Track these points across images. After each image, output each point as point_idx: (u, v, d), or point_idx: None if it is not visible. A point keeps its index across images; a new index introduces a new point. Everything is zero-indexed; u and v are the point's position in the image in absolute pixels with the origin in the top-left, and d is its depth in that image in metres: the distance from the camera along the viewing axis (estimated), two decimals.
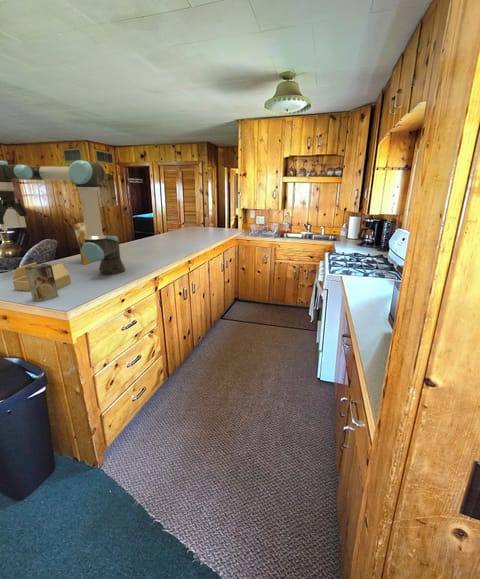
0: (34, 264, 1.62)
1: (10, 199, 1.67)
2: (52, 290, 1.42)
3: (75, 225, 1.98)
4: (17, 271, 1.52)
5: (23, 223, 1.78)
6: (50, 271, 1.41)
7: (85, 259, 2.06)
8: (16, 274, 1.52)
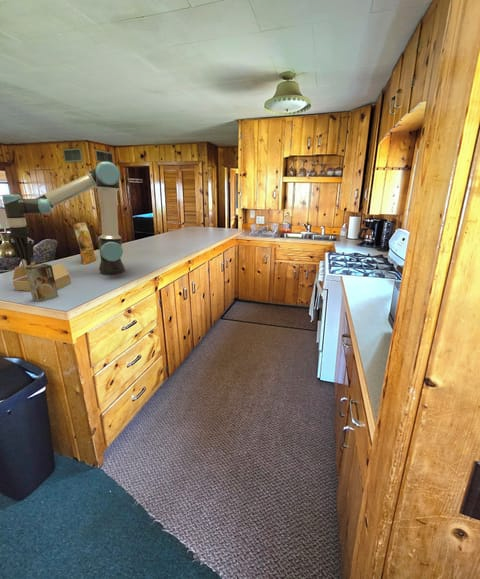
0: (33, 263, 1.62)
1: (19, 236, 1.50)
2: (52, 290, 1.42)
3: (75, 225, 1.98)
4: (16, 270, 1.52)
5: None
6: (51, 271, 1.41)
7: (85, 259, 2.06)
8: (15, 274, 1.52)
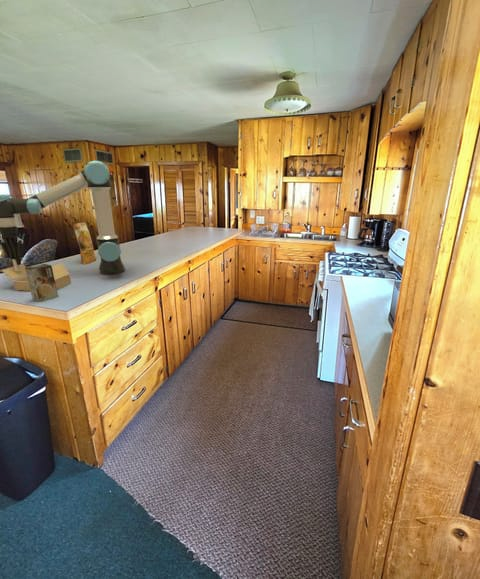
0: (21, 265, 1.63)
1: (9, 236, 1.51)
2: (52, 290, 1.42)
3: (75, 225, 1.98)
4: (6, 272, 1.52)
5: None
6: (51, 271, 1.41)
7: (85, 259, 2.06)
8: (9, 274, 1.53)
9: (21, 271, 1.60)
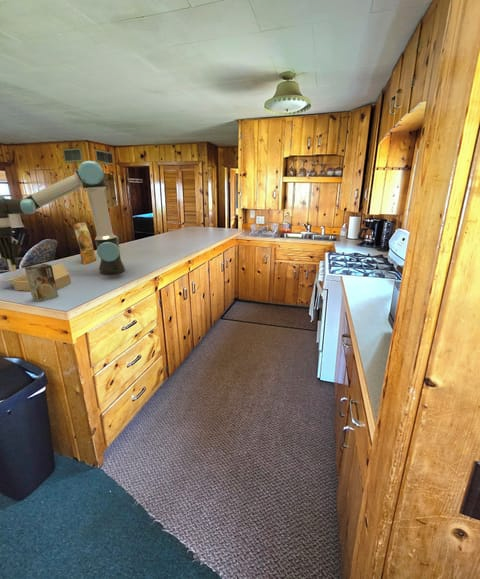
0: (21, 274, 1.65)
1: (3, 236, 1.51)
2: (52, 290, 1.42)
3: (75, 225, 1.98)
4: (5, 280, 1.54)
5: None
6: (51, 271, 1.41)
7: (85, 259, 2.06)
8: (8, 279, 1.54)
9: (20, 275, 1.61)
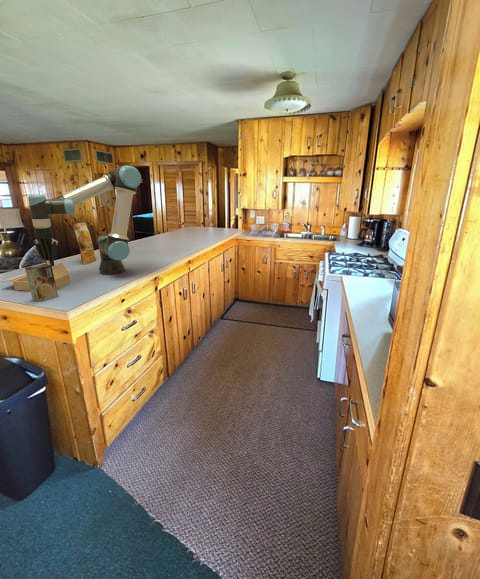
0: (21, 274, 1.65)
1: (44, 237, 1.49)
2: (52, 290, 1.42)
3: (75, 225, 1.98)
4: (5, 280, 1.54)
5: None
6: (51, 271, 1.41)
7: (85, 259, 2.06)
8: (8, 279, 1.54)
9: (20, 275, 1.61)
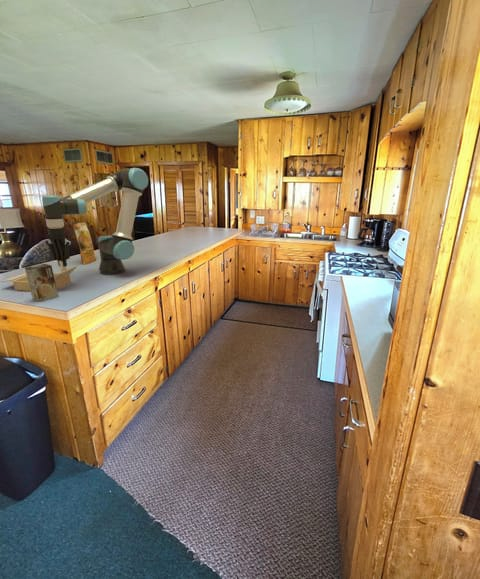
0: (21, 274, 1.65)
1: (57, 237, 1.49)
2: (52, 290, 1.42)
3: (75, 225, 1.98)
4: (5, 280, 1.54)
5: None
6: (51, 271, 1.41)
7: (85, 259, 2.06)
8: (8, 279, 1.54)
9: (20, 275, 1.61)
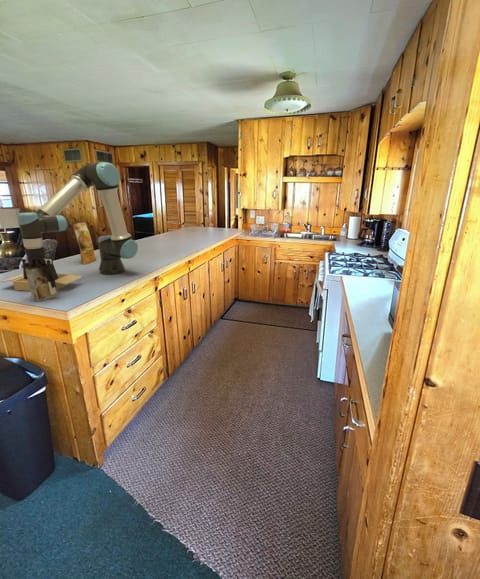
0: (21, 274, 1.65)
1: (36, 258, 1.36)
2: None
3: (75, 225, 1.98)
4: (5, 280, 1.54)
5: None
6: None
7: (85, 259, 2.06)
8: (8, 279, 1.54)
9: (20, 275, 1.61)
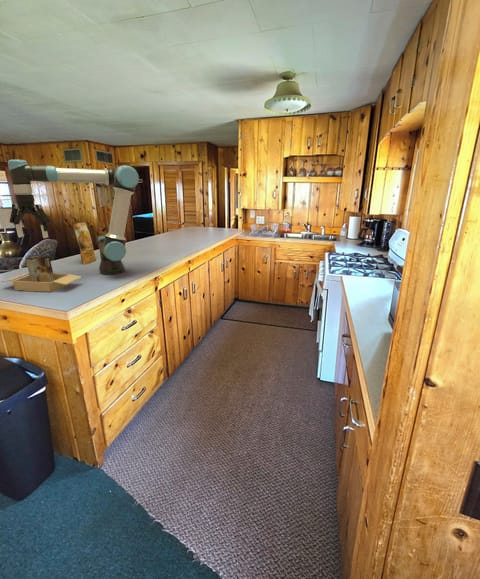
0: (21, 274, 1.65)
1: (25, 204, 1.45)
2: (50, 278, 1.59)
3: (75, 225, 1.98)
4: (5, 280, 1.54)
5: None
6: (49, 261, 1.57)
7: (85, 259, 2.06)
8: (8, 279, 1.54)
9: (20, 275, 1.61)
